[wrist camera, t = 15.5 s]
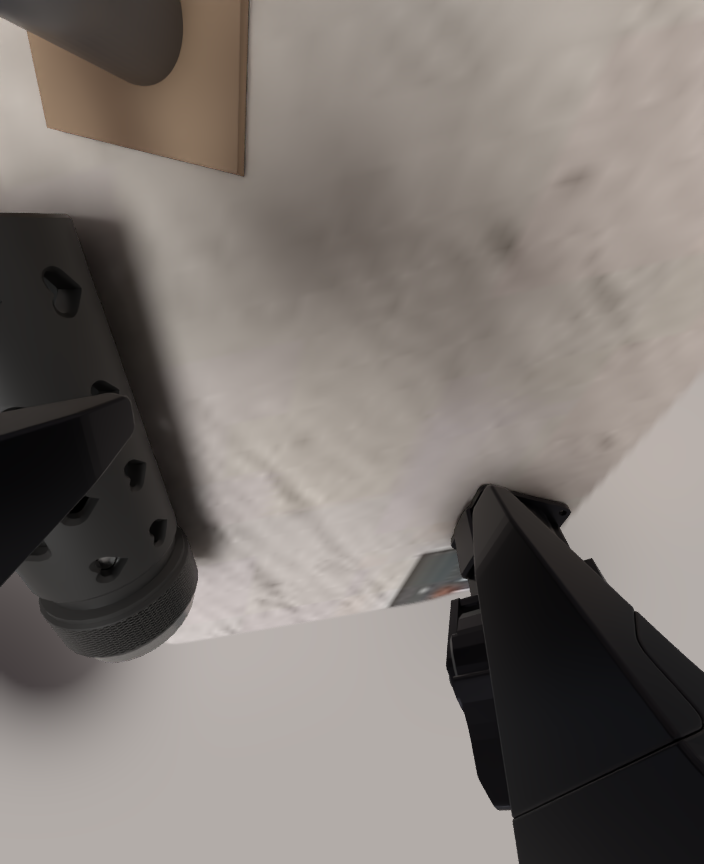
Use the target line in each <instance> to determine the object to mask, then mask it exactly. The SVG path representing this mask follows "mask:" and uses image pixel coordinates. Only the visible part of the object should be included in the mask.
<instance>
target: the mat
mask: <svg viewBox="0 0 704 864" xmlns="http://www.w3.org/2000/svg"><path fill="white" fill-rule="evenodd" d="M180 2H181V8H182V17H183V38H182V45H181V50H180V54H179V57H178V60H177V62H176V64H175V66H174V68H173V70H172V71H171V73H170V74H169V75H168V76H167V77H166V78H165V79H163V80H162V81H161V82H159V83H157V84H154V85H150V86H139V85H134V84H131V83H129V82H127V81H125V80H123V79H121V78H119V77H117V76H115V75H113V74H111V73H109V72H107V71H105V70H103V69H101V68H99V67H97V66H95V65H93V64H92V63H90V62H88V61H86V60H84V59H82V58H80V57H78V56H76V55H74V54H72V53H70V52H68V51H66V50H64V49H62V48H60V47H58V46H56V45H54V44H52V43H51V42H49V41H47V40H45V39H43V38H41V37H39V36H37V35H35V34H33V33H31V32H29V31H27V34H28V39H29V44H30V48H31V53H32V58H33V63H34V68H35V72H36V77H37V82H38V87H39V91H40V96H41V101H42V106H43V110H44V115H45V120H46V125H47V128H51V129H55V130H59V131H62V132H66V133H71V134H75V135H79V136H83V137H87V138H91V139H95V140H99V141H103V142H107V143H111V144H115V145H119V146H123V147H127V148H131V149H135V150H139V151H143V152H147V153H151V154H156V155H160V156H164V157H168V158H172V159H176V160H180V161H184V162H188V163H192V164H196V165H200V166H204V167H208V168H212V169H216V170H220V171H224V172H228V173H232V174H236V175H241V176H244V152H245V116H246V81H247V45H248V10H249V0H180Z"/></svg>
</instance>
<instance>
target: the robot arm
mask: <svg viewBox="0 0 704 864" xmlns="http://www.w3.org/2000/svg"><path fill="white" fill-rule="evenodd" d="M134 429H135V422H134V416H133V410H132V404H131V401H130V399H129V398H128V397H127V396H124V395H119V394H115V393H104V394H99V395H93V396H88V397H82V398H77V399H71V400H66V401H60V402H55V403H49V404H44V405H38V406H33V407H27V408H22V409H17V410H11V411H6V412H0V587H1V586H2V585H3V584H4V583H5V581H6V580H7V579H8V578H9V577H10V576H11V575H12V574H13V573H14V572H15V571H16V570H17V568H18V567H19V566H20V565H21V564H22V563H23V562H24V561H25V560H26V559H27V558H28V557H29V555H30V554H31V553H32V552H33V551H34V550H35V549H36V548H37V547H38V546H39V545H40V544H41V542H42V541H43V540H44V539H45V538H46V537H47V536H48V535H49V534H50V533H51V532H52V530H53V529H54V528H55V527H56V526H57V525H58V524H59V523H60V522H61V521H62V520H63V519H64V517H65V516H66V515H67V514H68V513H69V512H70V511H71V510H72V509H73V508H74V507H75V506H76V504H77V503H78V502H79V501H80V500H81V499H82V498H83V497H84V496H85V495H86V494H87V492H88V491H89V490H90V489H91V488H92V487H93V486H94V485H95V483H96V482H97V481H98V480H99V479H100V477H101V476H102V475H103V473H104V472H105V471H106V469H107V468H108V467H109V465H110V464H111V463H112V461H113V460H114V459H115V457H116V456H117V455H118V453H119V452H120V451H121V449H122V448H123V447H124V445H125V444H126V442H127V441H128V440H129V438H130V437H131V436H132V434H133V432H134ZM562 510H563V511H562ZM560 511H561V512H560ZM570 513H571V511H570V509H569V507H568V506H567V505H565V504H562V503H558V502H554V501H550V500H546V499H542V498H537V497H533V496H529V495H525V494H521V493H517V492H513V491H509V490H508V489H506V488H504V487H500V486H496V485H492V484H490V485H488V486H487V485H485V486H482V487H480V488H479V490H478V492H477V493H476V495H475V497H474V499H473V501H472V503H471V504H470V506H469V508H467V509H465V511H464V513H463V514H462V516H461V518H460V520H459V522H458V524H457V526H456V527H455V529H454V536H453V537H452V539H451V546H452V548H454V549H457V555H458V561H459V567H460V573H461V575H462V577H463V578H464V579H468V582H469V587H470V593H471V596H470V597H467V598H464V599H460V598H458V599H455V600H452V601H451V610H450V621H449V633H448V645H447V661H446V667H447V671H448V673H449V679H450V683H451V686H452V687H453V690H454V693H455V695H456V698H457V700H458V702H459V704H460V706H461V708H462V710H463V712H464V714H465V717H466V721H467V725H468V729H469V733H470V738H471V743H472V749H473V754H474V759H475V765H476V770H477V775H478V778H479V780H480V782H481V784H482V786H483V788H484V789H485V791H486V793H487V795H488V797H489V798H490V800H491V802H492V804H493V805H494V807H495V808H496V809H497V810H511V812H512V817H513V818H514V819H513V827H514V834H515V840H516V847H517V853H518V859H519V864H704V672H703V671H702V670H700V669H699V668H698V667H697V666H696V665H695V664H694V663H693V662H691V661H690V660H689V659H688V658H687V657H686V656H685V655H684V654H682V653H681V652H680V651H679V650H678V649H677V648H676V647H675V646H674V645H673V644H672V643H670V642H669V641H668V640H667V639H666V638H665V637H664V636H663V635H662V634H661V633H660V632H659V631H657V630H656V629H655V628H654V627H653V626H652V625H651V624H650V623H649V622H648V621H647V620H646V619H645V618H643V616H641V615H640V614H639V613H638V612H636V611H634V609H633V607H632V606H631V605H630V604H628V602H627V601H625V600H624V599H623V598H622V597H621V596H620V595H619V594H618V593H617V592H616V591H615V590H614V589H613V588H612V587H611V586H610V585H609V584H608V583H607V582H606V580H605V579H604V577H603V575H602V574H601V572H600V570H599V569H598V567H597V566H596V564H595V562H594V561H593V559H592V558H591V559H587V560H584V561H583V560H582V559H581V558H580V557H579V556H578V555H577V554H576V553H575V552H573V551H572V550H571V549H570V547H569V545H568V543H567V541H566V539H565V537H564V535H563V534H562V532H561V530H560V527H561V525H562V524H563V523H564V521H565V520H566V519H567V518H568V516H569V515H570Z"/></svg>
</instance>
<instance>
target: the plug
mask: <svg viewBox="0 0 704 864" xmlns="http://www.w3.org/2000/svg"><path fill="white" fill-rule="evenodd" d="M0 17H2V18H4V19H6V20H8V21H9V22H11V23H13V24H15V25H17V26H19V27H21V28H23V29H25V30H27V31H29V32H31V33H33V34H35V35H37V36H39V37H41V38H43V39H45V40H47V41H49V42H51V43H52V44H54V45H56V46H58V47H60V48H62V49H64V50H66V51H68V52H70V53H72V54H74V55H76V56H78V57H80V58H82V59H84V60H86V61H88V62H90V63H92V64H93V65H95V66H97V67H99V68H101V69H103V70H105V71H107V72H109V73H111V74H113V75H115V76H117V77H119V78H121V79H123V80H125V81H127V82H129V83H131V84H134V85H139V86H150V85H154V84H157V83H159V82H161V81H162V80H163V79H165V78H166V77H167V76H168V75H169V74H170V73H171V71H172V70H173V68H174V66H175V64H176V62H177V60H178V57H179V54H180V50H181V45H182V38H183V17H182V8H181V2H180V0H0Z"/></svg>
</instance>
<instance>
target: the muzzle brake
mask: <svg viewBox="0 0 704 864" xmlns="http://www.w3.org/2000/svg"><path fill="white" fill-rule="evenodd" d="M104 393H115V394H119V395H124V396H127V397H128V398H129V399H130V401H131V404H132V410H133V416H134V422H135V429H134V432H133V434H132V436H131V437H130V438H129V440H128V441H127V442H126V444H125V445H124V447H123V448H122V449H121V451H120V452H119V453H118V455H117V456H116V457H115V459H114V460H113V461H112V463H111V464H110V465H109V467H108V468H107V469H106V471H105V472H104V473H103V475H102V476H101V477H100V479H99V480H98V481H97V482H96V483H95V485H94V486H93V487H92V488H91V489H90V490H89V491H88V492H87V494H86V495H85V496H84V497H83V498H82V499H81V500H80V501H79V502H78V503H77V504H76V506H75V507H74V508H73V509H72V510H71V511H70V512H69V513H68V514H67V515H66V516H65V517H64V519H63V520H62V521H61V522H60V523H59V524H58V525H57V526H56V527H55V528H54V529H53V530H52V532H51V533H50V534H49V535H48V536H47V537H46V538H45V539H44V540H43V541H42V542H41V544H40V545H39V546H38V547H37V548H36V549H35V550H34V551H33V552H32V553H31V554H30V555H29V557H28V558H27V559H26V560H25V561H24V562H23V563H22V564H21V565H20V566H19V567H18V568H17V570H16V572H17V573H18V575H19V576H20V577H21V578H22V580H23V581H24V582H25V583H26V585H27V586H28V587H29V589H30V590H31V591H32V592H33V593H34V594H35V595H37V596H39V604H40V610H41V613H42V615H43V616H44V618H45V619H46V621H47V622H48V623H49V624H50V626H51V627H52V628H53V630H54V631H55V632H56V633H57V634H58V636H59V637H60V638H61V639H62V641H63V642H64V643H65V644H66V646H67V647H68V648H69V649H71V650H72V651H74V652H75V653H77V654H80V655H84V656H87V657H94V658H96V659H97V660H100V661H103V662H113V663H114V662H115V663H116V662H117V663H118V662H124V661H129V660H132V659H135V658H138V657H141V656H143V655H145V654H147V653H149V652H151V651H152V650H154V649H156V648H157V647H158V646H160V645H161V644H163V643H164V642H165V641H166V640H168V639H169V638H170V637H171V636H172V635H173V634H174V633H175V632H176V631H177V630H178V628H179V627H180V626H181V625H182V623H183V622H184V620H185V619H186V617H187V616H188V613H189V611H190V609H191V607H192V603H193V599H194V593H195V590H196V586H197V581H198V569H197V566H196V562H195V559H194V557H193V554H192V551H191V548H190V545H189V542H188V539H187V536H186V535H185V533H184V532H183V530H182V529H181V528H180V527H178V526H177V521H176V517H175V513H174V511H173V508H172V506H171V503H170V500H169V498H168V495H167V491H166V488H165V485H164V482H163V479H162V476H161V473H160V471H159V468H158V465H157V462H156V459H155V456H154V454H153V452H152V449H151V446H150V443H149V441H148V438H147V434H146V431H145V428H144V425H143V422H142V419H141V416H140V413H139V411H138V408H137V405H136V402H135V399H134V396H133V393H132V391H131V389H130V386H129V383H128V380H127V377H126V374H125V372H124V369H123V366H122V363H121V360H120V356H119V353H118V350H117V348H116V345H115V342H114V339H113V336H112V333H111V330H110V328H109V325H108V322H107V319H106V316H105V313H104V310H103V308H102V305H101V302H100V300H99V298H98V295H97V292H96V289H95V286H94V283H93V280H92V278H91V275H90V272H89V269H88V266H87V263H86V260H85V256H84V253H83V250H82V248H81V245H80V242H79V239H78V236H77V233H76V230H75V228H74V225H73V222H72V219H71V217H69V216H68V215H67V214H40V213H0V412H6V411H11V410H17V409H22V408H27V407H33V406H38V405H44V404H49V403H55V402H60V401H66V400H71V399H77V398H82V397H88V396H93V395H99V394H104Z"/></svg>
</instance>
